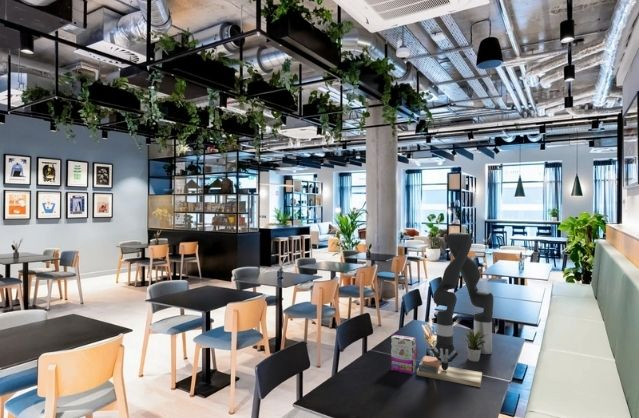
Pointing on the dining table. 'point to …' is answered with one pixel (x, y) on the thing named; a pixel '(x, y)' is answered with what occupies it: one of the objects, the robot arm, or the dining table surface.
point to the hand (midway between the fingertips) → (444, 369)
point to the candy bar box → (403, 354)
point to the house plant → (474, 345)
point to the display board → (451, 374)
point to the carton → (431, 362)
